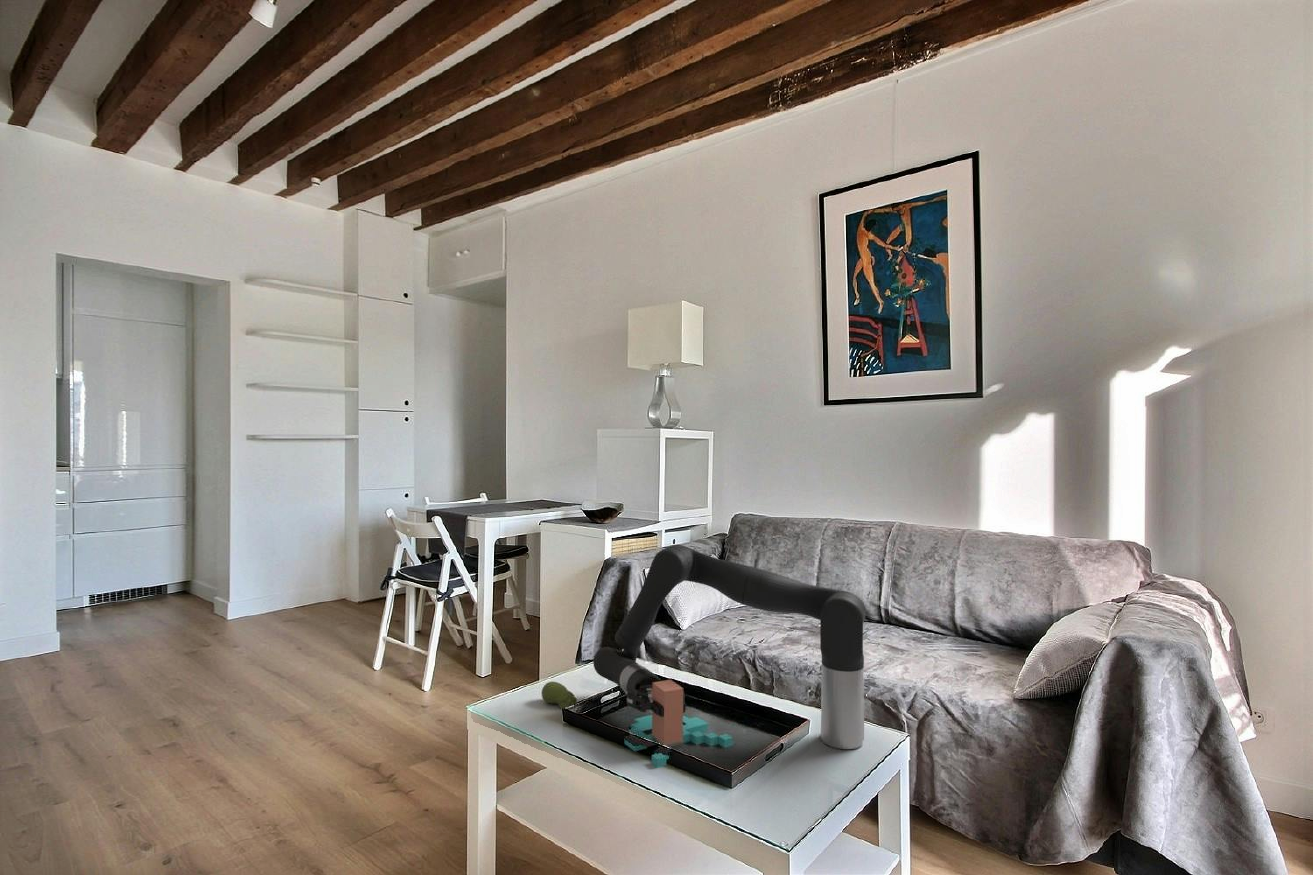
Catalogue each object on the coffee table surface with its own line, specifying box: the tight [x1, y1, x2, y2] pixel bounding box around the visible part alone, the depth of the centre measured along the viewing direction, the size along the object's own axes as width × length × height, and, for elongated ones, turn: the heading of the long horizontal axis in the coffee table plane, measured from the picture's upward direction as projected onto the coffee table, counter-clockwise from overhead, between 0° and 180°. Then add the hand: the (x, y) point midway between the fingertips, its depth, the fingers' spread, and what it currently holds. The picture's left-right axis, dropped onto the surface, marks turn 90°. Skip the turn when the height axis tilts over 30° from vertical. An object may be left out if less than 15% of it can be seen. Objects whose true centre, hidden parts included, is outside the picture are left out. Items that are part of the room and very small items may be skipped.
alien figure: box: [624, 714, 734, 769], centre depth 158 cm, size 20×2×20 cm
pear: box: [541, 681, 578, 710], centre depth 177 cm, size 6×5×10 cm
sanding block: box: [651, 679, 684, 747], centre depth 153 cm, size 4×6×12 cm
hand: (673, 710), depth 150 cm, fingers closed on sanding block, 4 cm apart
